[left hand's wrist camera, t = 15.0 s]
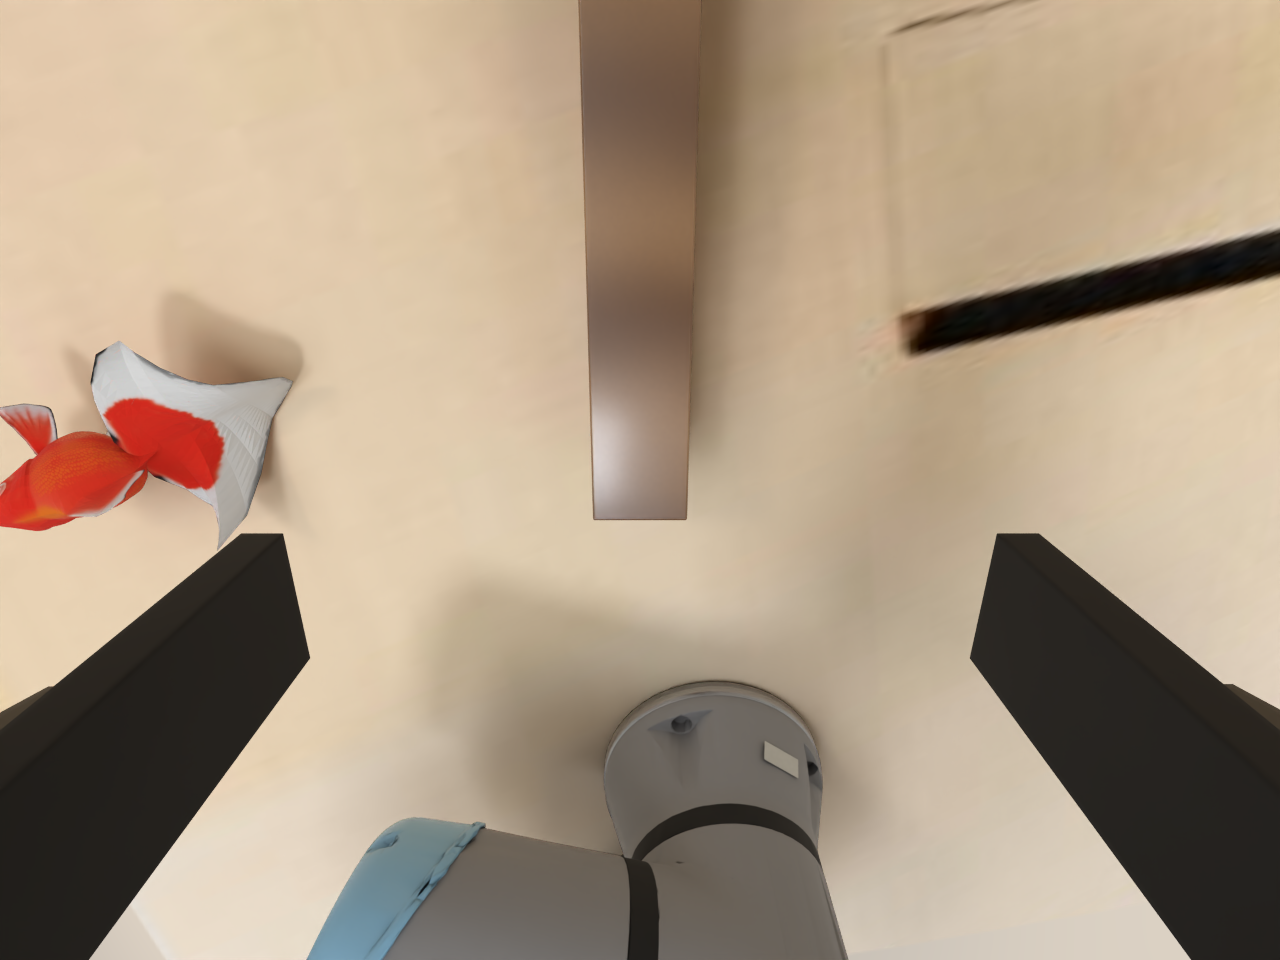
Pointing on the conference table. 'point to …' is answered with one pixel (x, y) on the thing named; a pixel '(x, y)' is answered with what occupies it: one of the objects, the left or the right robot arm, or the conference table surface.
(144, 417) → the fish
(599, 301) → the post
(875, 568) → the conference table surface
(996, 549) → the left robot arm
